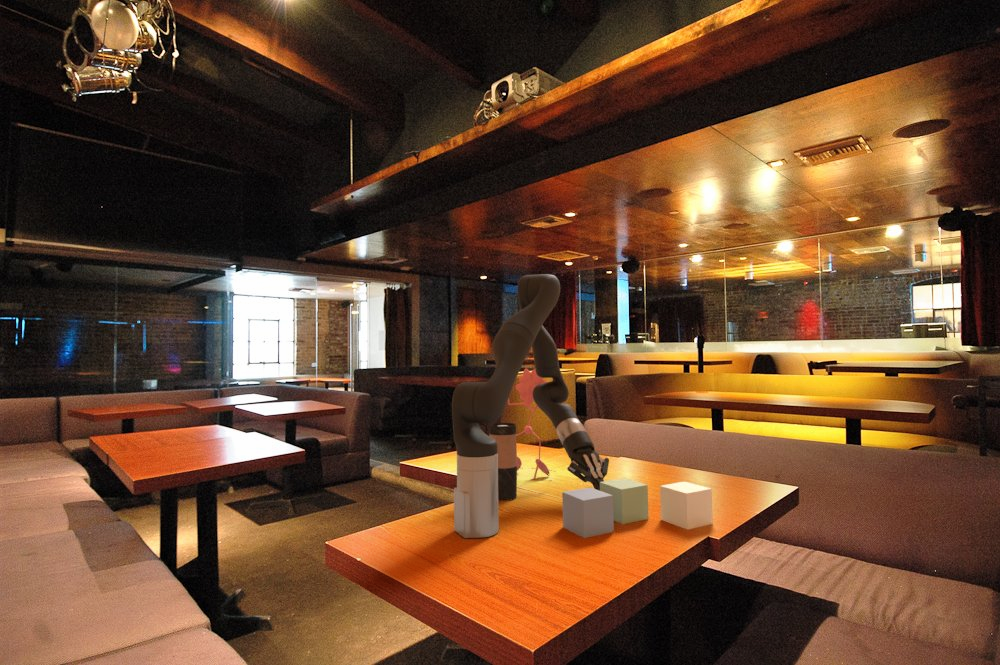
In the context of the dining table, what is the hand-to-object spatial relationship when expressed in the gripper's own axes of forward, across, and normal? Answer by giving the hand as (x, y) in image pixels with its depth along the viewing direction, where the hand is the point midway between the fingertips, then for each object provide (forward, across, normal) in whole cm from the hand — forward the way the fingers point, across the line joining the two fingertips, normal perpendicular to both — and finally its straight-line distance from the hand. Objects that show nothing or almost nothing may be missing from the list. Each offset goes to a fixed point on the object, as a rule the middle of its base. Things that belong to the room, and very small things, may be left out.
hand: (604, 493), depth 130 cm
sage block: (+8, 0, -2) cm, 8 cm away
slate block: (+10, -13, -4) cm, 17 cm away
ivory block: (+15, +10, -10) cm, 20 cm away
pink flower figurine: (-27, +5, +33) cm, 43 cm away
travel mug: (-13, -17, +19) cm, 29 cm away
